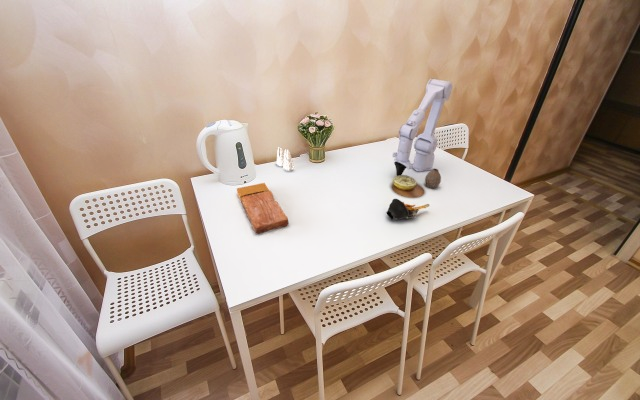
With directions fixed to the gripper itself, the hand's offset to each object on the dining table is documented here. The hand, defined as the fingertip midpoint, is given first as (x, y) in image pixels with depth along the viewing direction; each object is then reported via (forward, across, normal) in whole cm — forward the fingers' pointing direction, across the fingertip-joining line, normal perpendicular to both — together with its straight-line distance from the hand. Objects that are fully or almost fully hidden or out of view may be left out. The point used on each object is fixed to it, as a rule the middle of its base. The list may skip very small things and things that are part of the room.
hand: (398, 176), depth 141 cm
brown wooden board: (+2, +8, -68) cm, 68 cm away
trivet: (+2, +9, 0) cm, 9 cm away
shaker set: (+2, -26, -51) cm, 57 cm away
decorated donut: (+2, +6, 0) cm, 6 cm away
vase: (+2, +9, +13) cm, 16 cm away
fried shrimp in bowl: (+2, +27, -12) cm, 30 cm away
